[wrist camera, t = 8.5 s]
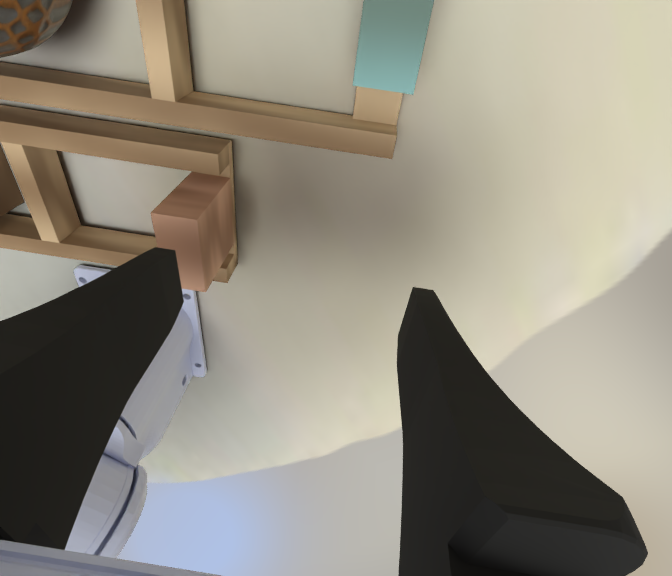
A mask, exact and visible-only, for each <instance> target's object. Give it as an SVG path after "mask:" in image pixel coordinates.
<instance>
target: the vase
mask: <svg viewBox="0 0 672 576" xmlns="http://www.w3.org/2000/svg"><path fill="white" fill-rule="evenodd" d="M71 4H72V0H0V57H6V56H11V55H14V54H18V53H21V52H24V51H27V50H30V49H32V48H34V47H37V46H38V45H40V44H41V43H43V42H44V41H46V40H47V39H48V38H50V37H51V36H52V35H53V34H54V33H55V32H56V31H57V30H58V29H59V27H60V26H61V25H62V23H63V22H64V20H65V18H66V16H67V14H68V12H69V10H70V7H71Z"/></svg>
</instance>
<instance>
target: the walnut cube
mask: <svg viewBox="0 0 672 576" xmlns="http://www.w3.org/2000/svg"><path fill="white" fill-rule="evenodd" d="M23 202H24V200H23V197H22V195H21V192H20V190H19V188H18V185H17V183H16V180H15V178H14V176H13V173H12V171H11V169H10V166H9V164H8V161H7V159H6V157H5V154H4V152H3V149H2V147H1V145H0V217H1V216H2V215H4V214H6V213H7V212H9V211H10V210H12V209H14V208H15V207H17V206H19V205H20V204H22V203H23Z"/></svg>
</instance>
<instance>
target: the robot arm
mask: <svg viewBox="0 0 672 576" xmlns="http://www.w3.org/2000/svg"><path fill="white" fill-rule="evenodd" d="M74 275H75V277H76V280H77V283H78V285H79V287H78V288H76V289H74V290H72V291H70V292H68V293H66V294H64V295H62V296H60V297H58V298H56V299H54V300H52V301H50V302H47V303H45V304H43V305H40V306H38V307H36V308H33V309H31V310H28V311H26V312H23V313H21V314H18V315H16V316H13V317H11V318H8V319H5V320H2V321H0V576H221V575H215V574H209V573H202V572H196V571H190V570H184V569H177V568H172V567H166V566H159V565H153V564H147V563H140V562H134V561H128V560H122V559H116V558H117V556H118V555H119V553H120V552H121V550H122V549H123V547H124V546H125V544H126V542H127V541H128V539H129V537H130V536H131V534H132V532H133V530H134V528H135V526H136V524H137V522H138V519H139V517H140V515H141V512H142V510H143V507H144V503H145V500H146V495H147V473H146V470H145V469H144V468H143V467H142V466H140V465H138V463H139V461H140V460H141V459H142V458H144V457H145V456H146V455H148V454H149V453H150V452H151V451H152V450H153V449H154V448H155V447H156V446H157V445H158V443H159V442H160V440H161V439H162V437H163V435H164V433H165V431H166V429H167V427H168V425H169V423H170V421H171V419H172V417H173V415H174V413H175V411H176V409H177V407H178V405H179V403H180V400H181V398H182V396H183V394H184V392H185V390H186V388H187V386H188V384H189V382H190V380H191V378H192V376H196V377H204V376H205V375H206V373H207V368H206V361H205V353H204V346H203V339H202V332H201V325H200V318H199V311H198V304H197V296H196V291H194V290H188V289H182V287H181V281H180V275H179V269H178V263H177V257H176V252H175V250H171V249H165V248H158V247H154V248H152V249H150V250H148V251H146V252H144V253H142V254H140V255H139V256H137V257H135V258H133V259H131V260H129V261H128V262H126V263H124V264H122V265H120V266H118V267H117V268H115V269H113V270H109V269H103V268H96V267H90V266H83V265H79V266H77V267H76V268H75V269H74ZM187 294H189V295H190V296H188V295H187ZM397 372H398V384H399V396H400V407H401V419H402V430H403V484H402V485H403V486H402V517H401V540H400V559H399V576H626V575H627V574H629V573H631V572H633V571H635V570H636V569H637V568H639V567H640V566H641V565H642V564H643V562H644V561H645V559H646V557H647V554H648V552H647V549H646V546H645V543H644V541H643V539H642V537H641V534H640V532H639V530H638V528H637V525H636V523H635V521H634V519H633V517H632V515H631V512H630V511H629V508H628V507H627V504H626V503H625V501H624V499H623V497H622V496H620V495H619V494H618V493H616V492H615V491H614V490H612V489H611V488H610V487H609V486H607V485H606V484H605V483H603V482H602V481H601V480H600V479H598V478H597V477H596V476H594V475H593V474H592V473H591V472H589V471H588V470H587V469H585V468H584V467H583V466H581V465H580V464H579V463H578V462H577V461H575V460H574V459H573V458H572V457H571V456H569V455H568V454H567V453H566V452H565V451H564V450H563V449H561V448H560V447H559V446H558V445H557V444H556V443H554V442H553V441H552V440H551V439H550V438H549V437H548V436H547V435H545V434H544V433H543V432H542V431H541V430H540V429H539V428H538V427H537V426H536V425H535V424H534V423H533V422H532V421H531V420H530V419H529V418H528V417H527V416H526V415H525V414H524V413H523V412H521V411H520V409H519V408H518V407H517V406H516V405H515V404H514V403H513V402H512V401H511V400H510V399H509V398H508V397H507V395H506V394H505V393H504V392H503V391H502V390H501V389H500V388H499V386H498V385H497V384H496V383H495V382H494V381H493V380H492V378H491V377H490V376H489V375H488V373H487V372H486V371H485V370H484V368H483V367H482V366H481V364H480V363H479V362H478V360H477V359H476V357H475V356H474V355H473V353H472V352H471V350H470V349H469V348H468V346H467V345H466V343H465V342H464V340H463V338H462V337H461V335H460V334H459V332H458V331H457V329H456V328H455V326H454V324H453V323H452V321H451V319H450V318H449V316H448V314H447V313H446V311H445V309H444V308H443V306H442V304H441V302H440V301H439V299H438V297H437V295H436V294H435V292H434V291H433V290H428V289H422V288H415V287H413V289H412V292H411V295H410V298H409V302H408V305H407V308H406V311H405V315H404V318H403V321H402V324H401V328H400V331H399V334H398V349H397Z"/></svg>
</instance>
